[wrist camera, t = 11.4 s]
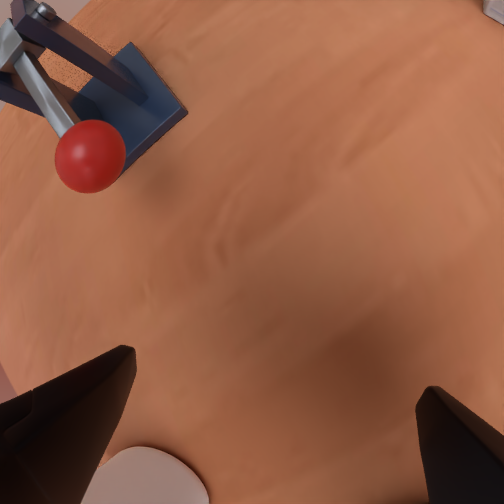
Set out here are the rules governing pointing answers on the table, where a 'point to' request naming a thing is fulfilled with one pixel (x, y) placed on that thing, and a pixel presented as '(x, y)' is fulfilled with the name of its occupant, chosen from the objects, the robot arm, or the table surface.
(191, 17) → the table surface
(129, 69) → the lever stand
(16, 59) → the lever
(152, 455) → the wine bottle
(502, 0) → the light bulb box
